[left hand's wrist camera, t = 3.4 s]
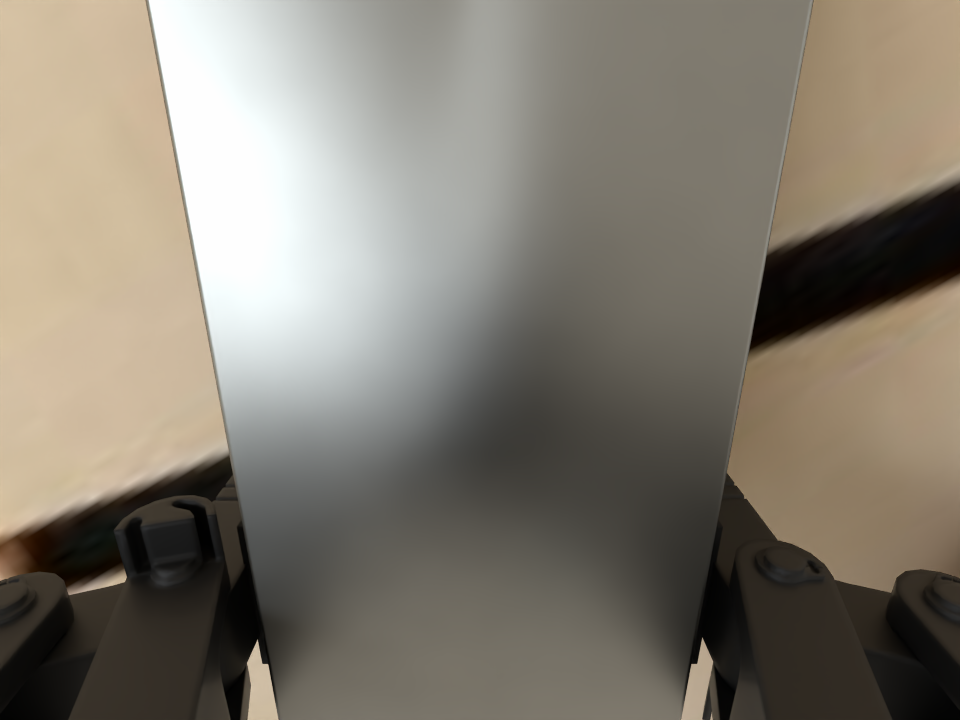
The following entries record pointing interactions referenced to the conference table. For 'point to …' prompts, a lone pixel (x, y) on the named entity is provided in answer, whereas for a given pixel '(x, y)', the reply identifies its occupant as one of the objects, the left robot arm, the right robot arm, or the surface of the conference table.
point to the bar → (479, 330)
